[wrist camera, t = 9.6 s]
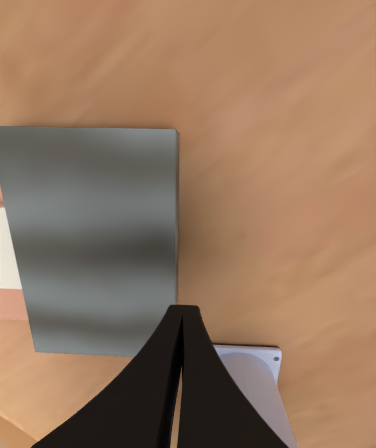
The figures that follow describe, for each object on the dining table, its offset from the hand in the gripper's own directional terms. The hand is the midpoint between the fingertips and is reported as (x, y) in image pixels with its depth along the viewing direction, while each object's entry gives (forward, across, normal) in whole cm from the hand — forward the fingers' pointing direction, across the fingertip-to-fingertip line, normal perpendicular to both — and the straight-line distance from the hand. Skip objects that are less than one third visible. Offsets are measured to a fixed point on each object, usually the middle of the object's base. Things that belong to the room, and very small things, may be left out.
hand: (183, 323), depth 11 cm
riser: (+9, +7, 0) cm, 12 cm away
